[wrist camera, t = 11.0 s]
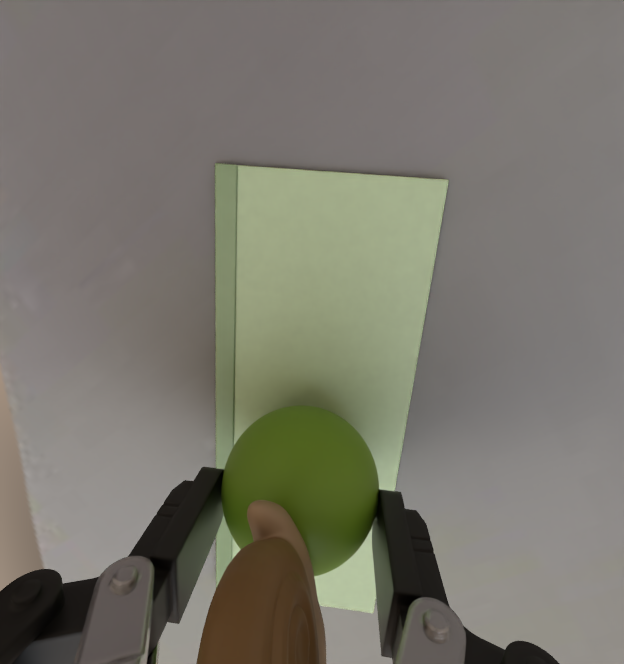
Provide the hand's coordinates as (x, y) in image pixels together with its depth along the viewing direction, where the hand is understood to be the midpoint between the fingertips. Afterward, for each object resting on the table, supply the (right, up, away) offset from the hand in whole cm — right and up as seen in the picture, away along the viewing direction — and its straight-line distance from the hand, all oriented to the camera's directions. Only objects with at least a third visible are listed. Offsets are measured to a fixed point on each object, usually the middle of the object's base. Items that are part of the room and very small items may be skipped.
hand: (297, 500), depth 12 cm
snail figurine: (0, +1, +3) cm, 3 cm away
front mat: (0, +2, +3) cm, 4 cm away
